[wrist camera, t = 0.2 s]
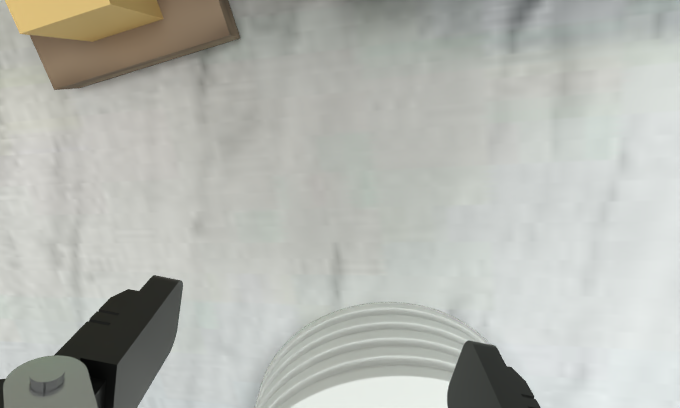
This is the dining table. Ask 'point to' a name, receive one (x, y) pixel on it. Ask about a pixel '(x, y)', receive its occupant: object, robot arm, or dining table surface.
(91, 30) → the block
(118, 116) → the dining table surface
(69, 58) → the board
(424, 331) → the plate stack
